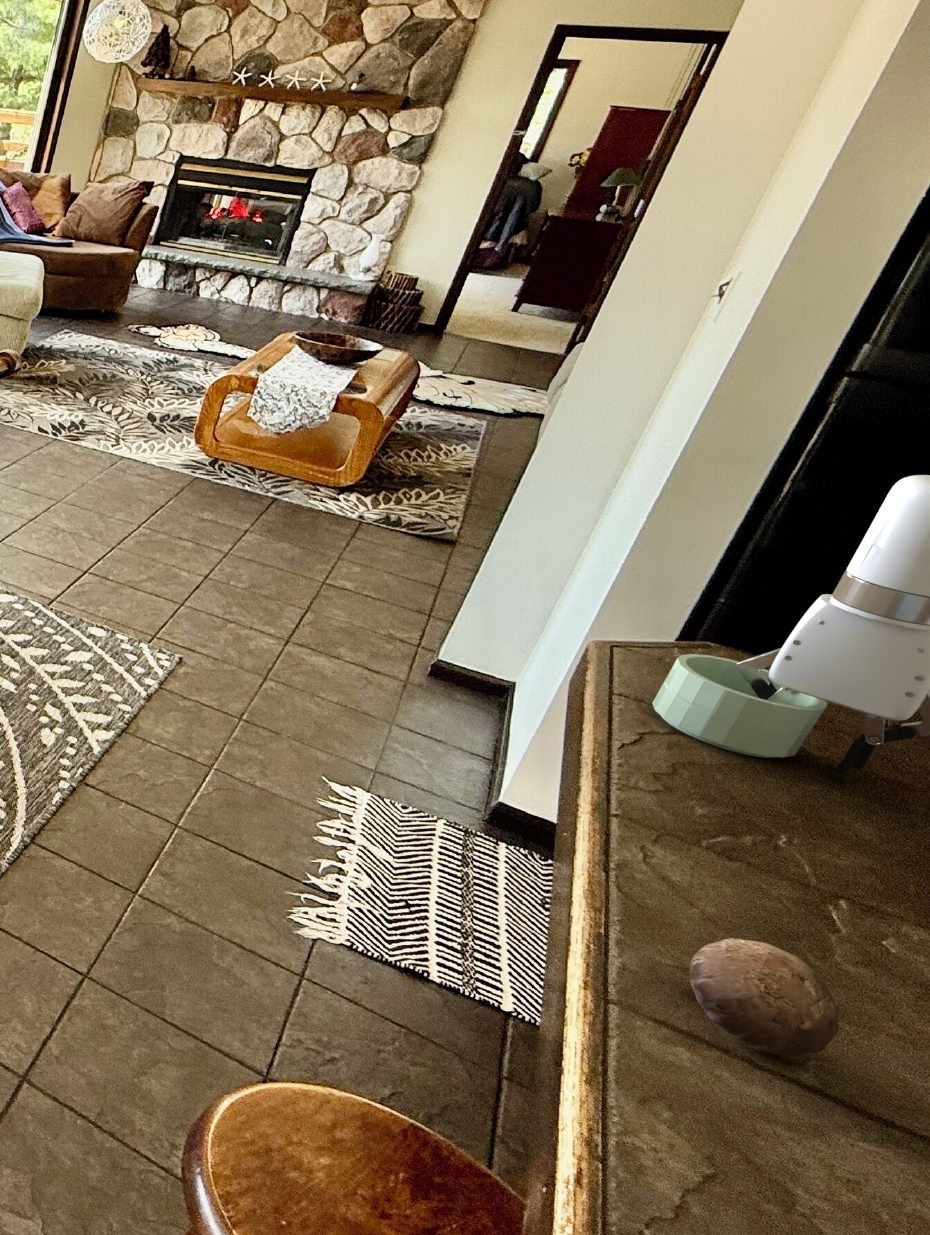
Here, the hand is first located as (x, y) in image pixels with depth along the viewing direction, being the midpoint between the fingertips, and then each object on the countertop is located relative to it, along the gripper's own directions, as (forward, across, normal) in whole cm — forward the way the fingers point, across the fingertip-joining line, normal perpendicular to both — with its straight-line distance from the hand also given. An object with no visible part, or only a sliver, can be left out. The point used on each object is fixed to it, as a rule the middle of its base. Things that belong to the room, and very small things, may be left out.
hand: (803, 755), depth 108 cm
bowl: (+1, +6, 0) cm, 6 cm away
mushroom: (+1, -6, +58) cm, 58 cm away
